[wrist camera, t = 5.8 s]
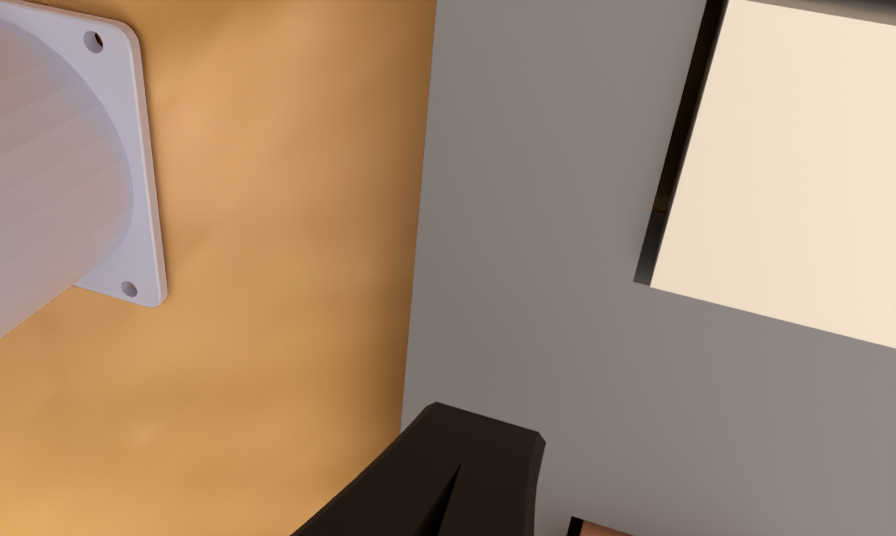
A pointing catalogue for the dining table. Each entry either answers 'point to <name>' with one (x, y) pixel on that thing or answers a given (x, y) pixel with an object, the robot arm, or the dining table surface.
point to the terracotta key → (599, 530)
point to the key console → (618, 295)
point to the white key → (792, 169)
